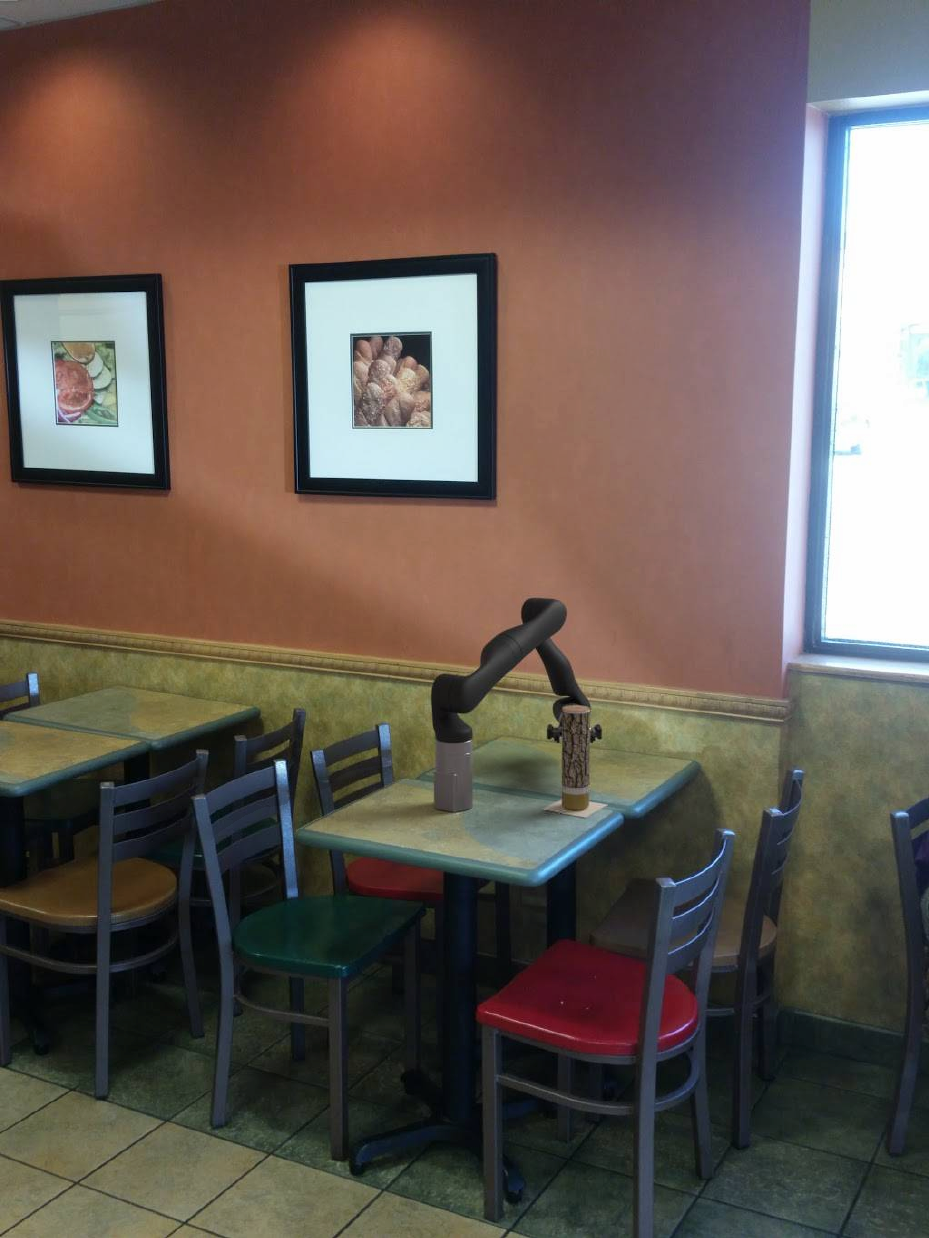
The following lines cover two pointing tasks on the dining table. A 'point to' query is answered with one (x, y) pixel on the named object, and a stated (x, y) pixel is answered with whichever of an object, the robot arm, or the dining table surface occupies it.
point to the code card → (583, 813)
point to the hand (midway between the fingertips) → (575, 739)
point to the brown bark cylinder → (575, 757)
